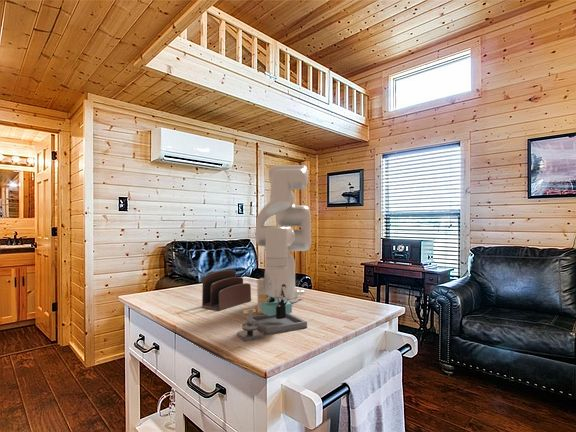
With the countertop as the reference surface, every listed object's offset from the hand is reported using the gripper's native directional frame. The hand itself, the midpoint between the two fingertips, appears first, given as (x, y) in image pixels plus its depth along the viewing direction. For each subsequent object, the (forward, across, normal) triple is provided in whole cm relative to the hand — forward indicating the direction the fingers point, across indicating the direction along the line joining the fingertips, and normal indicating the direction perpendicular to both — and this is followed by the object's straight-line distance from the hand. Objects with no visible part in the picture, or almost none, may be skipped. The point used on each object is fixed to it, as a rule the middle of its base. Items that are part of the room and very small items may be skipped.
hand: (276, 315), depth 112 cm
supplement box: (+3, -15, +5) cm, 16 cm away
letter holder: (+3, -36, -5) cm, 36 cm away
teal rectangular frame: (-1, 0, 0) cm, 1 cm away
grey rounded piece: (+3, +6, -12) cm, 14 cm away
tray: (+3, 0, 0) cm, 3 cm away
